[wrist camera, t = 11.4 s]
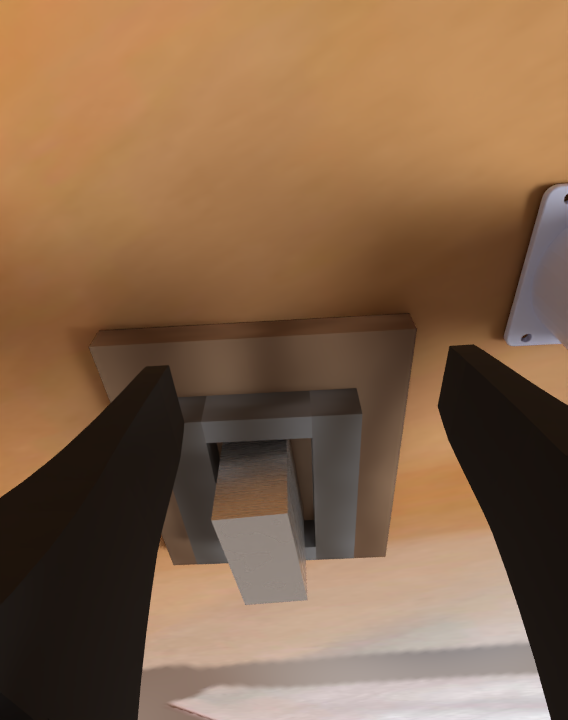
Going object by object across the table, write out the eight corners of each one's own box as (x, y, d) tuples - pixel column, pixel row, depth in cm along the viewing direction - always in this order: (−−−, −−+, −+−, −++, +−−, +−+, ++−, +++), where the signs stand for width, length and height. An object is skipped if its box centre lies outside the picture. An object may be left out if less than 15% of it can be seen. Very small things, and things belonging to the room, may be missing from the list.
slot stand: (409, 313, 22) (428, 352, 19) (381, 538, 34) (390, 583, 31) (99, 330, 23) (72, 371, 20) (177, 546, 34) (168, 591, 31)
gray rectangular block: (286, 420, 24) (287, 513, 19) (302, 507, 29) (307, 600, 24) (224, 426, 25) (211, 520, 20) (251, 511, 29) (245, 604, 24)
